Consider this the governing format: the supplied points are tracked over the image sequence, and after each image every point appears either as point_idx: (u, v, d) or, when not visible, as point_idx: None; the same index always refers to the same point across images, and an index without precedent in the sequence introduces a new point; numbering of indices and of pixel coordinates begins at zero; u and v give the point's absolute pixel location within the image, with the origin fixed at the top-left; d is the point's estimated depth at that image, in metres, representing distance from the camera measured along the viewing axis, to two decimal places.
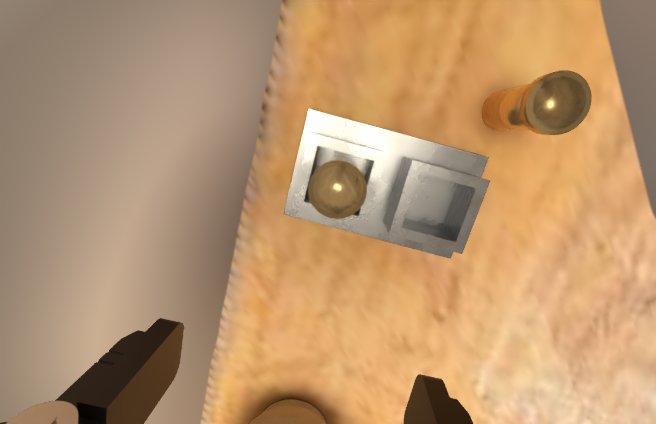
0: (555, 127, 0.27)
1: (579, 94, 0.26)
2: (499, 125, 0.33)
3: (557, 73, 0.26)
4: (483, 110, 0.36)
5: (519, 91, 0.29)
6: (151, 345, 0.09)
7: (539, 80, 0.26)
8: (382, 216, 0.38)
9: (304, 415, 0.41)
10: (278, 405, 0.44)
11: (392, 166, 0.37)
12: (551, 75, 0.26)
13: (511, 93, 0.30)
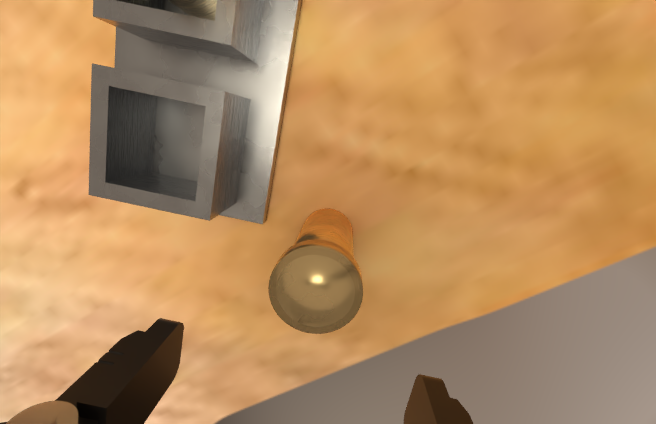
0: (279, 292, 0.17)
1: (329, 316, 0.17)
2: (302, 229, 0.24)
3: (358, 282, 0.17)
4: (326, 209, 0.26)
5: (340, 241, 0.20)
6: (151, 345, 0.09)
7: (347, 259, 0.17)
8: (152, 75, 0.23)
9: None
10: None
11: (232, 83, 0.23)
12: (354, 273, 0.17)
13: (339, 233, 0.21)
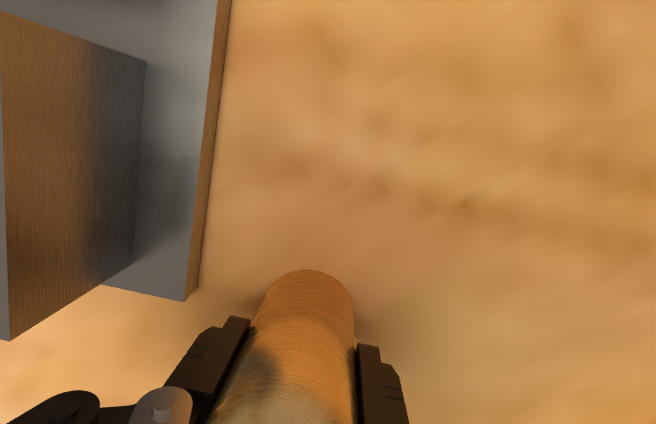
0: None
1: None
2: (253, 324, 0.12)
3: None
4: (305, 273, 0.14)
5: (326, 403, 0.08)
6: (231, 339, 0.10)
7: None
8: None
9: None
10: None
11: (107, 26, 0.11)
12: None
13: (326, 363, 0.09)
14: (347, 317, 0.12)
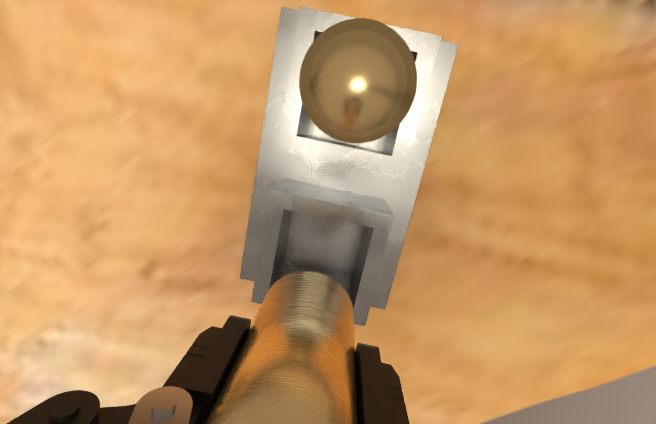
0: None
1: None
2: (252, 325, 0.12)
3: None
4: (305, 273, 0.14)
5: (326, 404, 0.08)
6: (231, 339, 0.10)
7: None
8: (292, 176, 0.25)
9: None
10: None
11: (369, 184, 0.25)
12: None
13: (326, 364, 0.09)
14: (347, 318, 0.12)
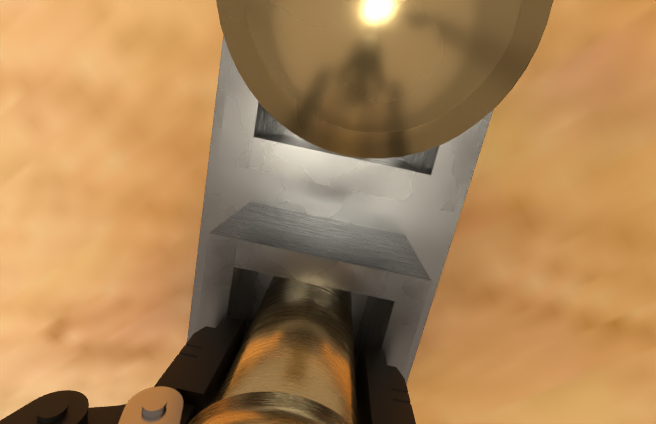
0: None
1: None
2: (262, 302, 0.13)
3: None
4: None
5: (328, 358, 0.09)
6: (224, 339, 0.10)
7: None
8: (261, 199, 0.16)
9: None
10: None
11: (381, 213, 0.16)
12: None
13: (328, 329, 0.11)
14: (345, 296, 0.14)
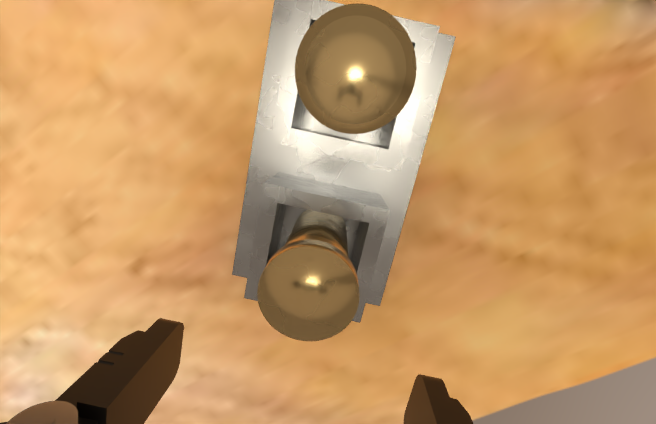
0: (269, 297, 0.16)
1: (322, 323, 0.16)
2: (293, 227, 0.22)
3: (354, 285, 0.15)
4: None
5: (334, 241, 0.18)
6: (151, 345, 0.09)
7: (343, 260, 0.15)
8: (286, 170, 0.24)
9: None
10: None
11: (364, 179, 0.24)
12: (351, 276, 0.15)
13: (334, 232, 0.20)
14: (343, 226, 0.23)
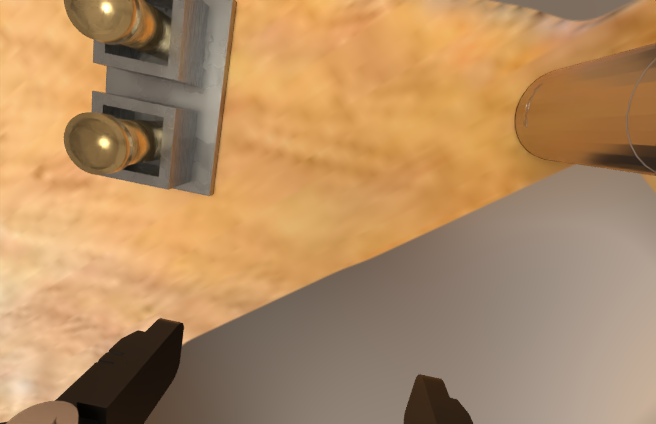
0: (71, 145, 0.26)
1: (105, 162, 0.26)
2: None
3: (119, 136, 0.26)
4: None
5: (131, 123, 0.29)
6: (151, 345, 0.09)
7: (112, 121, 0.26)
8: (131, 94, 0.35)
9: None
10: None
11: (186, 100, 0.35)
12: (116, 130, 0.26)
13: (139, 123, 0.30)
14: None
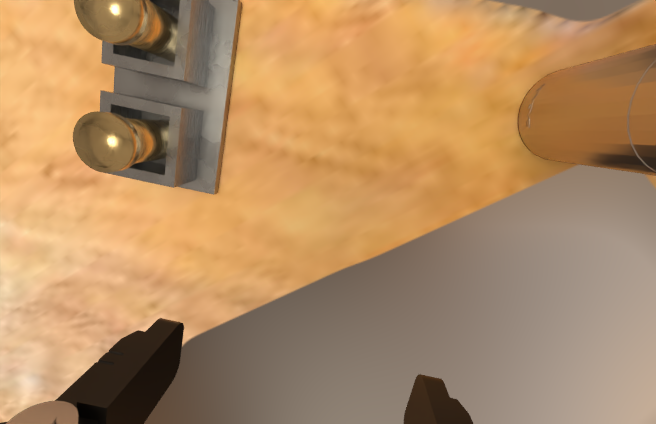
0: (80, 143, 0.27)
1: (113, 160, 0.27)
2: None
3: (127, 135, 0.27)
4: None
5: (138, 123, 0.30)
6: (151, 345, 0.09)
7: (120, 120, 0.26)
8: (138, 94, 0.35)
9: None
10: None
11: (191, 100, 0.35)
12: (124, 129, 0.26)
13: (146, 122, 0.31)
14: None
